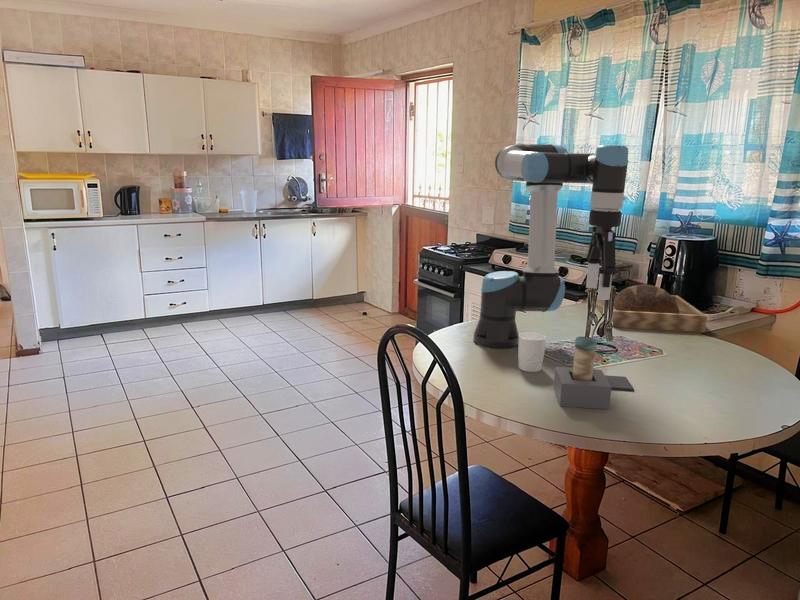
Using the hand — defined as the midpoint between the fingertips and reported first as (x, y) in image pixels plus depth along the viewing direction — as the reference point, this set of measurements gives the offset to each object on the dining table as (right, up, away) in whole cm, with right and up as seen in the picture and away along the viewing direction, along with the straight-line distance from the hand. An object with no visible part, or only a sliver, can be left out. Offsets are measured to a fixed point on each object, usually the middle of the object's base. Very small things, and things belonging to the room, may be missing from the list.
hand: (597, 293), depth 150 cm
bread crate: (+46, -9, +82) cm, 94 cm away
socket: (-3, -27, +3) cm, 28 cm away
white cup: (-12, -22, +24) cm, 34 cm away
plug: (-3, -27, +3) cm, 28 cm away
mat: (+9, -25, +14) cm, 30 cm away
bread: (+46, -9, +82) cm, 95 cm away
